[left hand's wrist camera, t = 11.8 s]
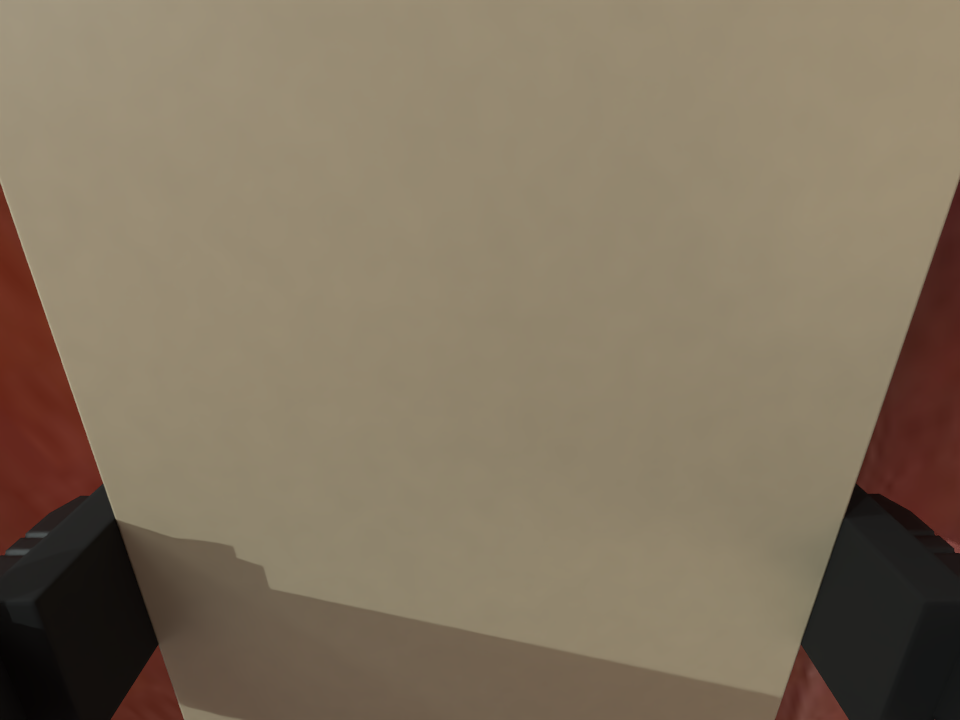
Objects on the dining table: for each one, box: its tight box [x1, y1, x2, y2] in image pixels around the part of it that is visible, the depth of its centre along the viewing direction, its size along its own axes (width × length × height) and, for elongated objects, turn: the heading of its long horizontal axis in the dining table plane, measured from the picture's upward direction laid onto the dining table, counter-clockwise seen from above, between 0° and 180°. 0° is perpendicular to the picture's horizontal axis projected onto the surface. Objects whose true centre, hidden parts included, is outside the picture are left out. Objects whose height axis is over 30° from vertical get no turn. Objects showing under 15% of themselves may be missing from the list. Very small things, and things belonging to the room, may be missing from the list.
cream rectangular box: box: [0, 0, 960, 720], centre depth 11 cm, size 17×11×8 cm, turn 0°
